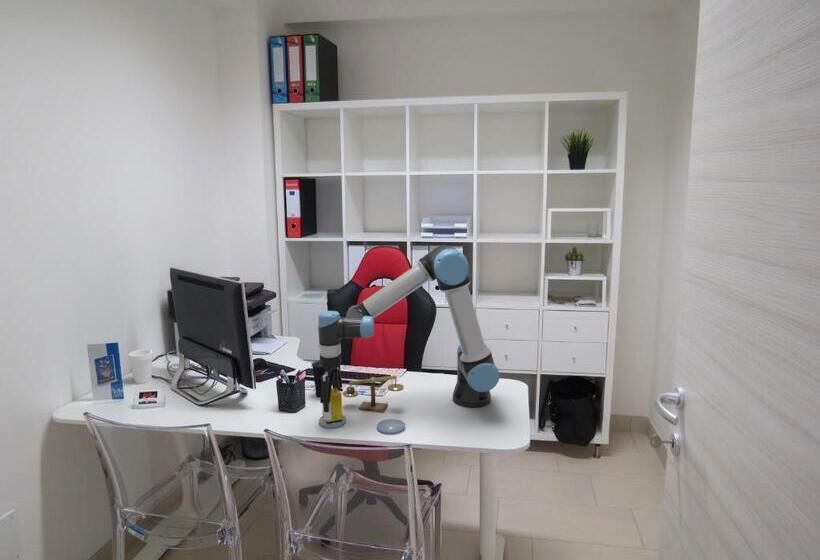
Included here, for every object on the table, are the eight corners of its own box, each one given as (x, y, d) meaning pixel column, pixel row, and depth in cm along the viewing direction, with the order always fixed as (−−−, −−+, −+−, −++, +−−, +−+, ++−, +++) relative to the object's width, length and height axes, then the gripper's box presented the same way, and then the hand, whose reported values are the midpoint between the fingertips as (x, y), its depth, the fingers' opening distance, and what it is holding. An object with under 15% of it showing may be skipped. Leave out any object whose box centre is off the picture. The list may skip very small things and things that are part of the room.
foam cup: (127, 381, 252) (124, 353, 250) (148, 375, 259) (146, 348, 257) (137, 387, 246) (134, 357, 244) (159, 380, 253) (156, 352, 251)
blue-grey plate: (407, 423, 210) (407, 420, 210) (401, 435, 200) (401, 432, 200) (381, 420, 212) (381, 417, 212) (373, 433, 202) (373, 429, 202)
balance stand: (387, 406, 225) (387, 379, 222) (383, 412, 219) (383, 384, 217) (363, 404, 227) (362, 377, 225) (358, 410, 221) (357, 382, 219)
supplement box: (322, 417, 212) (321, 389, 210) (338, 414, 214) (337, 387, 212) (326, 424, 207) (325, 395, 204) (342, 421, 209) (341, 393, 206)
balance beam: (405, 395, 222) (405, 373, 220) (401, 401, 216) (401, 379, 215) (345, 390, 227) (345, 369, 226) (340, 396, 222) (340, 374, 220)
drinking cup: (328, 399, 231) (326, 352, 227) (310, 398, 233) (307, 350, 229) (334, 392, 239) (332, 346, 235) (316, 391, 240) (314, 345, 236)
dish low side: (350, 418, 215) (350, 414, 214) (341, 429, 205) (340, 426, 205) (324, 415, 217) (324, 412, 217) (314, 427, 207) (314, 424, 207)
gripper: (331, 344, 217) (333, 401, 221) (308, 363, 196) (311, 425, 201) (350, 346, 215) (351, 402, 220) (329, 365, 195) (331, 427, 199)
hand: (332, 413), depth 210 cm, fingers open, 9 cm apart
